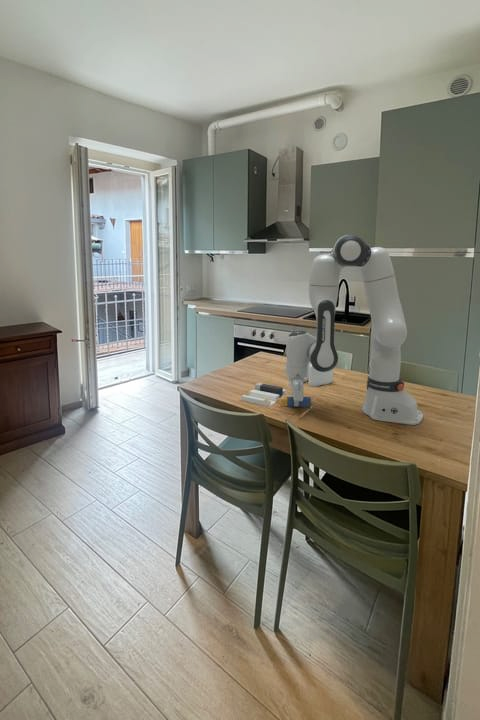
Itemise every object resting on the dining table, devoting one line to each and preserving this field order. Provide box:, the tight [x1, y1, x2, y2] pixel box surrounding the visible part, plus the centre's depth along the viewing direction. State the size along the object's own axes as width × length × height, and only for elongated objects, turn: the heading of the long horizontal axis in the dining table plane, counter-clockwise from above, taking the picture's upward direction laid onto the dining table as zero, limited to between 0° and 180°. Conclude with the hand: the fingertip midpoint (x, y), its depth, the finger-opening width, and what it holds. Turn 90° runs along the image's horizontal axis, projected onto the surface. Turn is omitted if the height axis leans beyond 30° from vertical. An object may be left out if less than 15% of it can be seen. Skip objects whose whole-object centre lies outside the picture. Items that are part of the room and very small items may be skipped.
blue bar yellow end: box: [280, 396, 312, 410], centre depth 165 cm, size 12×3×4 cm, turn 88°
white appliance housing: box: [241, 389, 287, 407], centre depth 173 cm, size 13×16×3 cm
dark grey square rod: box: [254, 382, 284, 398], centre depth 176 cm, size 12×3×4 cm, turn 59°
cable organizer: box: [303, 362, 335, 388], centre depth 194 cm, size 15×11×12 cm
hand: (295, 403), depth 165 cm, fingers closed on blue bar yellow end, 3 cm apart
